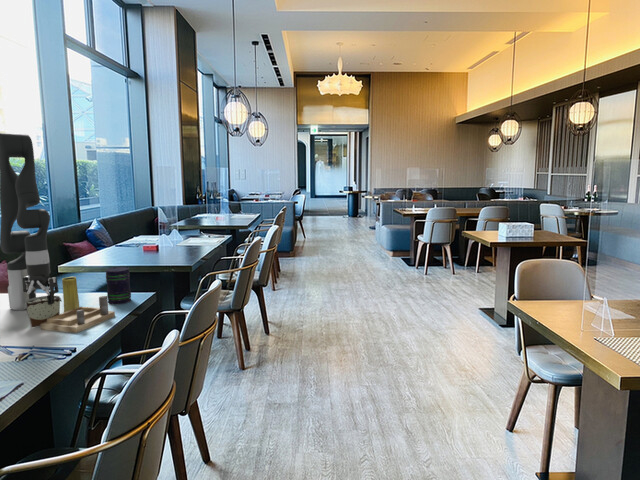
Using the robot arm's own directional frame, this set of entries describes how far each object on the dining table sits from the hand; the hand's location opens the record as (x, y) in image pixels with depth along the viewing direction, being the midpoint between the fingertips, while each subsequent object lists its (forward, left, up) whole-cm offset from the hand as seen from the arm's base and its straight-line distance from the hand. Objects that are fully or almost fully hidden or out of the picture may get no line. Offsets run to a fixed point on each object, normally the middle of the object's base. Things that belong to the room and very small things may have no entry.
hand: (42, 303), depth 173 cm
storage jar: (+8, +33, -8) cm, 35 cm away
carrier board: (+13, +4, -8) cm, 15 cm away
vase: (-1, +15, -8) cm, 17 cm away
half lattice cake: (0, 0, -8) cm, 8 cm away
